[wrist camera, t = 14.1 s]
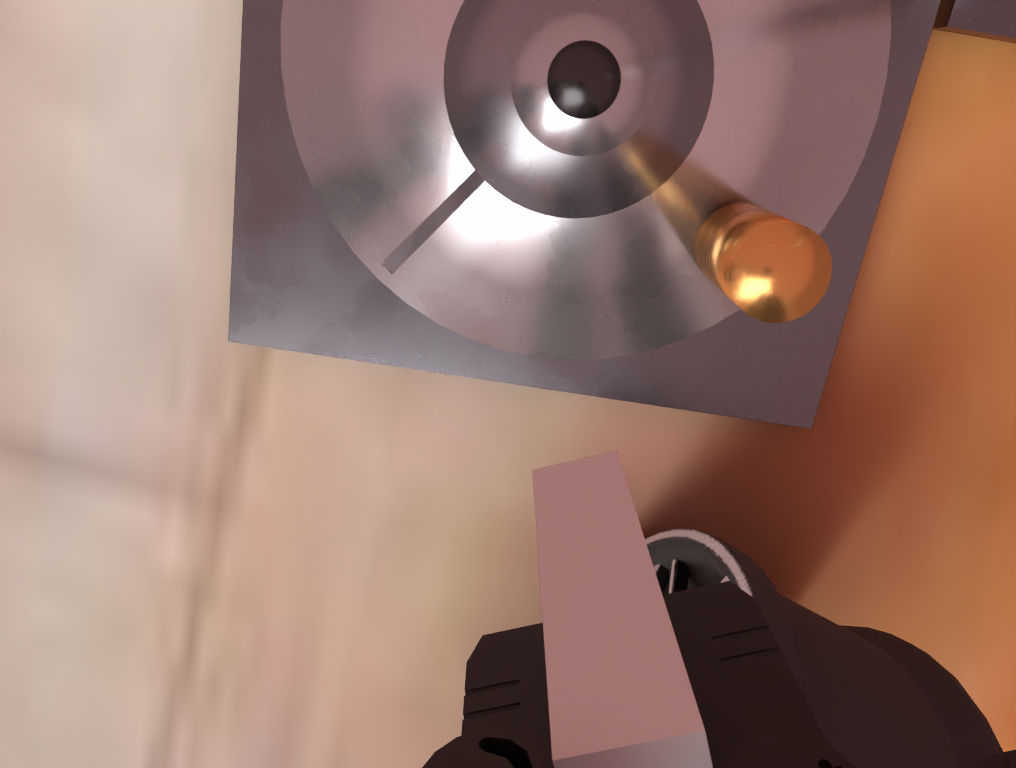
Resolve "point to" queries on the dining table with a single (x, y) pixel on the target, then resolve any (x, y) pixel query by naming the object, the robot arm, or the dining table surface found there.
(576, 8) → the cover
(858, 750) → the wheel rim
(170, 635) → the dining table surface
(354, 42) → the turntable
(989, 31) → the dial stand
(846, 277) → the turntable base
